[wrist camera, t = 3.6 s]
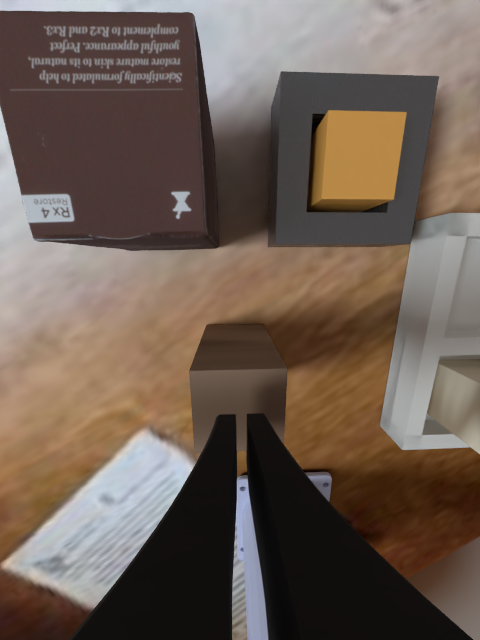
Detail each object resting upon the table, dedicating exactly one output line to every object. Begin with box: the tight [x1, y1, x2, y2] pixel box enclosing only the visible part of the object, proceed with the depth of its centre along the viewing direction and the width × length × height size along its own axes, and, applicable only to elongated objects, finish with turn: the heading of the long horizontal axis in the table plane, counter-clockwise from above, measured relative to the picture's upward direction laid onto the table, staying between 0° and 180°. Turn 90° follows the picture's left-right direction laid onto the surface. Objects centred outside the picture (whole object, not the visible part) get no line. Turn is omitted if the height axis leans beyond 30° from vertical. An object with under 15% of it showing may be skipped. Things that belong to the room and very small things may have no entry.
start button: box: [306, 110, 407, 213], centre depth 12 cm, size 4×4×3 cm
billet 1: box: [189, 324, 287, 453], centre depth 13 cm, size 4×4×7 cm
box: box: [0, 11, 219, 251], centre depth 10 cm, size 6×6×7 cm
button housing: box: [268, 72, 439, 247], centre depth 13 cm, size 8×8×2 cm
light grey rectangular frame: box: [380, 213, 480, 450], centre depth 16 cm, size 16×8×2 cm, turn 0°
